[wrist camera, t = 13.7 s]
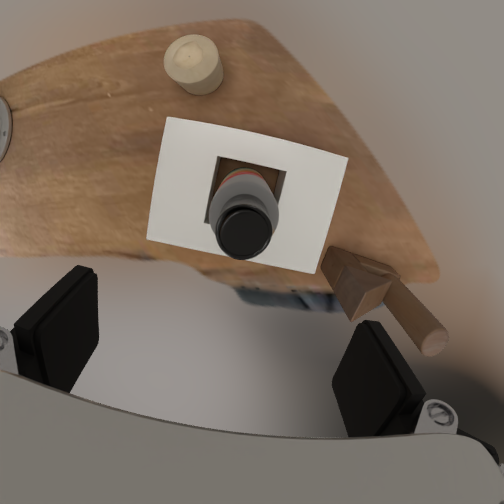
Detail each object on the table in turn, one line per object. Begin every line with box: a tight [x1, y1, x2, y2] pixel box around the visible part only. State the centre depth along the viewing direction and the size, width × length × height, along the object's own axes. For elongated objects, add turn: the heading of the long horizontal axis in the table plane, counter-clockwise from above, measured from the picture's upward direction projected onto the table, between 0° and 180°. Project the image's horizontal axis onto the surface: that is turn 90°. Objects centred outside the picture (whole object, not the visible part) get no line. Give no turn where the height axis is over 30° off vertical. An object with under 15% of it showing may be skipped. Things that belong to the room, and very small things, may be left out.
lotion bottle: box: [209, 167, 279, 260], centre depth 29 cm, size 6×6×20 cm
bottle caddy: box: [146, 117, 348, 274], centre depth 36 cm, size 20×14×6 cm
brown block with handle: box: [321, 246, 449, 357], centre depth 34 cm, size 4×11×18 cm, turn 71°
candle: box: [164, 35, 224, 95], centre depth 29 cm, size 6×6×10 cm
